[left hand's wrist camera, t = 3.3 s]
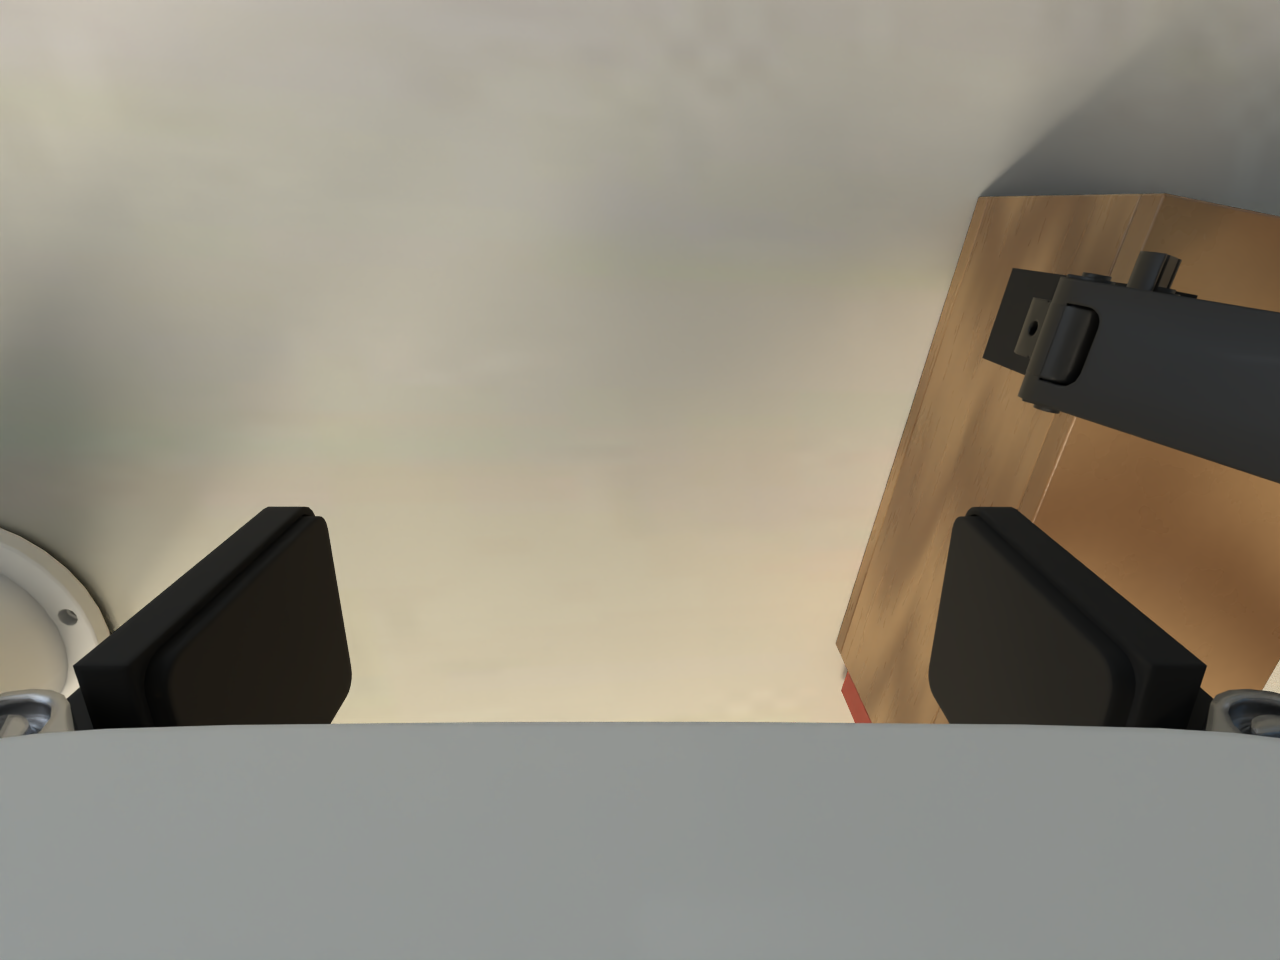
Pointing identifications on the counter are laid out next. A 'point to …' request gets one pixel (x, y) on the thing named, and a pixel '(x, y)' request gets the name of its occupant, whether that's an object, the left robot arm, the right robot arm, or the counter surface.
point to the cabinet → (1073, 457)
